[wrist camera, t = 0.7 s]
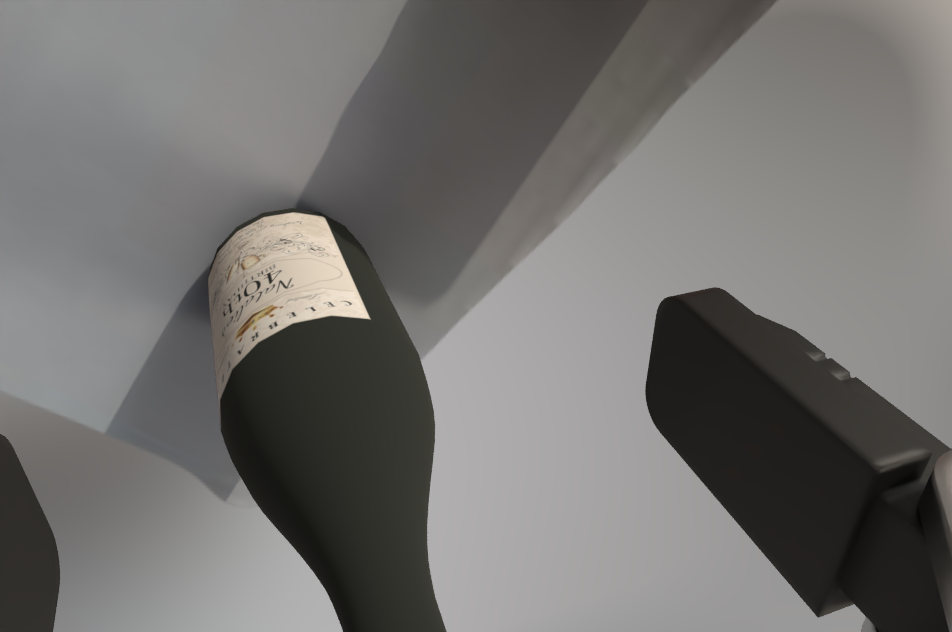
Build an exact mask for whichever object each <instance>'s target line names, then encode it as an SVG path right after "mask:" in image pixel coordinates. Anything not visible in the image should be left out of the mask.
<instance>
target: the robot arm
mask: <svg viewBox="0 0 952 632" xmlns="http://www.w3.org/2000/svg"><path fill="white" fill-rule="evenodd" d="M646 402H647V406H648V410H649V413H650V416H651V418H652V420H653V422H654V424H655V426H656V427H657V429H658V430H659V431H660V433H661V434H662V435H663V436H664V437H665V438H666V440H667V441H668V442H669V443H670V444H671V446H672V447H673V448H674V449H675V450H676V451H677V453H678V454H679V455H680V456H681V457H682V459H683V460H684V461H685V462H686V463H687V464H688V466H689V467H690V468H691V469H692V470H693V471H694V473H695V474H696V475H697V476H698V477H699V478H700V480H701V481H702V482H703V483H704V484H705V486H706V487H707V488H708V489H709V490H710V491H711V493H713V495H714V496H715V497H716V498H717V500H718V501H719V502H720V503H721V504H722V505H723V507H724V508H725V509H726V510H727V511H728V512H729V514H730V515H731V516H732V517H733V518H734V520H735V521H736V522H737V523H738V524H739V525H740V526H741V528H742V529H743V530H744V531H745V532H746V534H747V535H748V536H749V537H750V538H751V539H752V541H753V542H754V543H755V544H756V545H757V546H758V548H759V549H760V550H761V551H762V552H763V553H764V555H765V556H766V557H767V558H768V559H769V561H770V562H771V563H772V564H773V565H774V566H775V568H776V569H777V570H778V571H779V572H780V573H781V575H782V576H783V577H784V578H785V579H786V580H787V582H788V583H789V584H790V585H791V586H792V588H793V589H794V590H795V591H796V592H797V593H798V595H799V596H800V597H801V598H802V599H803V600H804V602H806V604H807V605H808V606H809V607H810V609H811V610H812V611H813V612H814V613H815V614H816V616H817V617H821V616H824V615H826V614H829V613H832V612H834V611H837V610H840V609H842V608H845V607H847V606H850V605H853V604H855V605H856V606H857V607H858V608H859V609H860V610H861V612H862V613H863V614H864V615H865V616H866V618H865V621H864V623H863V625H862V629H861V632H952V449H950V448H949V447H948V446H946V445H945V444H944V443H942V442H941V441H940V440H938V439H937V438H936V437H934V436H933V435H932V434H930V433H929V432H928V431H926V430H925V429H924V428H922V427H921V426H920V425H918V424H917V423H916V422H915V421H913V420H912V419H910V418H909V417H908V416H907V415H905V414H904V413H903V412H901V411H900V410H899V409H897V408H896V407H895V406H894V405H892V404H891V403H889V402H888V401H887V400H886V399H884V398H883V397H881V396H880V395H879V394H878V393H876V392H875V391H874V390H872V389H871V388H870V387H868V386H867V385H866V384H864V383H863V382H862V381H861V380H859V379H858V378H856V377H855V378H851V377H850V372H849V371H847V370H846V369H845V368H843V367H842V366H841V365H839V364H838V363H837V362H836V361H834V360H833V359H831V358H830V359H826V357H825V353H824V352H822V351H821V350H820V349H818V348H817V347H816V346H814V345H813V344H812V343H811V342H809V341H808V340H807V339H805V338H804V337H803V336H801V335H800V334H799V333H797V332H796V331H794V330H792V329H789V328H787V327H785V326H783V325H780V324H778V323H775V322H773V321H771V320H769V319H766V318H764V317H762V316H760V315H756V314H755V313H753V312H752V311H751V310H749V309H748V308H747V307H746V306H744V305H743V304H742V303H740V302H739V301H738V300H737V299H735V298H734V297H733V296H732V295H730V294H729V293H728V292H726V291H725V290H723V289H720V288H709V289H705V290H700V291H695V292H690V293H685V294H681V295H676V296H671V297H667V298H665V299H664V300H663V301H662V302H661V303H660V305H659V307H658V310H657V314H656V320H655V327H654V334H653V341H652V347H651V354H650V361H649V368H648V374H647V381H646ZM59 584H60V568H59V557H58V551H57V546H56V542H55V538H54V535H53V532H52V530H51V528H50V525H49V523H48V521H47V519H46V517H45V515H44V513H43V510H42V508H41V506H40V504H39V502H38V500H37V498H36V496H35V493H34V491H33V489H32V487H31V485H30V483H29V481H28V478H27V476H26V475H25V472H24V470H23V468H22V466H21V463H20V461H19V459H18V457H17V455H16V453H15V451H14V449H13V447H12V445H11V444H10V442H9V441H8V439H6V437H5V436H3V435H1V434H0V632H53V627H54V620H55V613H56V607H57V599H58V592H59Z"/></svg>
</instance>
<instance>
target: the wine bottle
mask: <svg viewBox="0 0 952 632" xmlns="http://www.w3.org/2000/svg"><path fill="white" fill-rule="evenodd" d="M208 285H209V306H210V319H211V330H212V340H213V351H214V362H215V372H216V383H217V394H218V404H219V415H220V426H221V432H222V435H223V438H224V441H225V444H226V447H227V450H228V452H229V455H230V457H231V460H232V462H233V464H234V465H235V467H236V469H237V471H238V473H239V475H240V476H241V478H242V480H243V482H244V483H245V485H246V487H247V489H248V490H249V492H250V494H251V495H252V497H253V499H254V500H255V502H256V503H257V505H258V506H259V507H260V509H261V510H262V512H263V513H264V514H265V515H266V516H267V518H268V519H269V520H270V521H271V522H272V523H273V525H274V526H275V527H276V528H277V529H278V530H279V531H280V532H281V533H282V535H283V536H284V537H285V538H286V539H287V540H288V541H289V543H290V544H291V545H292V546H293V547H294V548H295V549H296V551H297V552H298V553H299V554H300V555H301V557H302V558H303V559H304V560H305V562H306V563H307V564H308V566H309V567H310V568H311V569H312V571H313V572H314V573H315V575H316V576H317V578H318V579H319V580H320V582H321V584H322V585H323V587H324V588H325V590H326V591H327V593H328V595H329V597H330V600H331V602H332V603H333V606H334V609H335V611H336V613H337V616H338V619H339V621H340V624H341V626H342V629H343V632H446V629H445V626H444V623H443V620H442V617H441V614H440V611H439V608H438V605H437V602H436V599H435V594H434V590H433V585H432V580H431V575H430V569H429V562H428V550H427V517H428V502H429V491H430V481H431V472H432V463H433V453H434V443H435V421H434V411H433V405H432V401H431V396H430V392H429V388H428V384H427V380H426V377H425V374H424V371H423V367H422V364H421V361H420V357H419V354H418V353H417V351H416V349H415V347H414V345H413V343H412V341H411V339H410V337H409V335H408V333H407V331H406V329H405V327H404V325H403V323H402V321H401V319H400V318H399V316H398V314H397V312H396V310H395V308H394V306H393V304H392V302H391V300H390V298H389V296H388V294H387V292H386V290H385V288H384V286H383V284H382V282H381V281H380V279H379V277H378V275H377V273H376V271H375V269H374V267H373V265H372V263H371V261H370V259H369V257H368V255H367V254H366V252H365V250H364V248H363V247H362V245H361V244H360V243H359V242H358V241H357V240H356V239H355V237H354V236H353V235H352V234H351V233H350V232H349V231H348V229H347V228H346V227H345V226H343V225H342V224H340V223H338V222H336V221H334V220H332V219H331V218H329V217H327V216H325V215H323V214H321V213H318V212H312V211H305V210H299V209H285V210H279V211H273V212H267V213H262V214H260V215H258V216H257V217H255V218H253V219H251V220H249V221H247V222H245V223H244V224H242V225H240V226H238V227H237V228H236V229H235V230H234V231H233V232H232V233H231V234H230V235H229V237H228V238H227V239H226V240H225V241H224V242H223V243H222V244H221V245H220V246H219V247H218V249H217V252H216V254H215V257H214V260H213V262H212V265H211V268H210V271H209V273H208Z"/></svg>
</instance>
